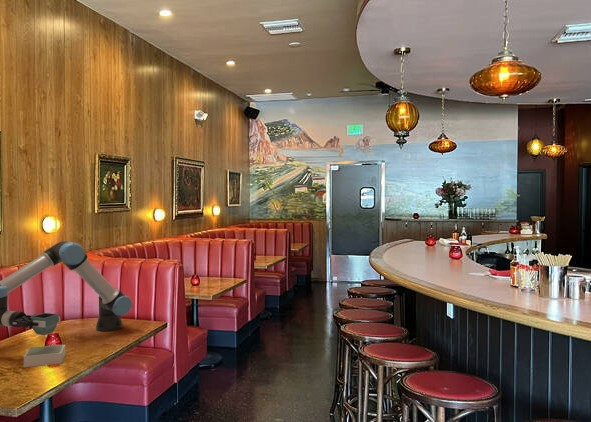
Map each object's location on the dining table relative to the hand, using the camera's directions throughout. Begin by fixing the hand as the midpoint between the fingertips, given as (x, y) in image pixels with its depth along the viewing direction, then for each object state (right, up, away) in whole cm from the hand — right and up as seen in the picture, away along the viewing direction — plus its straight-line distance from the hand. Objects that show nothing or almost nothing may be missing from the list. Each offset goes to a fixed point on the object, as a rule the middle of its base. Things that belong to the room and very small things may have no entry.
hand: (52, 322), depth 231 cm
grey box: (-4, -19, +2) cm, 20 cm away
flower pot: (-4, -6, +1) cm, 8 cm away
